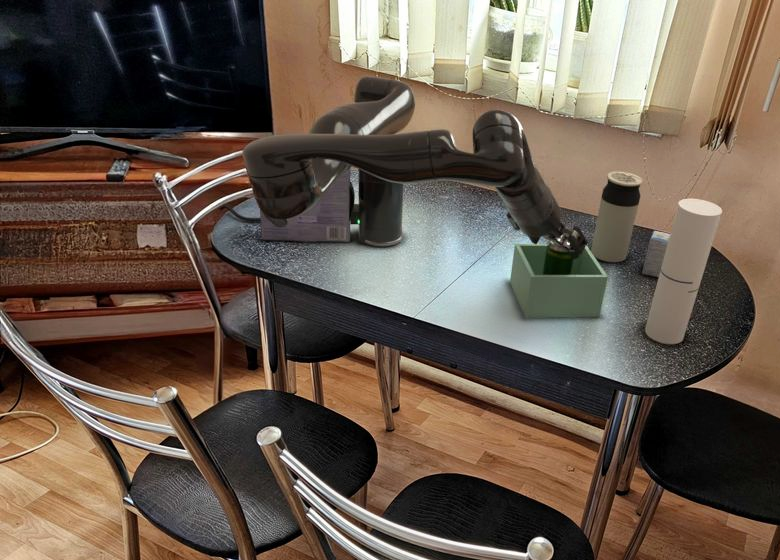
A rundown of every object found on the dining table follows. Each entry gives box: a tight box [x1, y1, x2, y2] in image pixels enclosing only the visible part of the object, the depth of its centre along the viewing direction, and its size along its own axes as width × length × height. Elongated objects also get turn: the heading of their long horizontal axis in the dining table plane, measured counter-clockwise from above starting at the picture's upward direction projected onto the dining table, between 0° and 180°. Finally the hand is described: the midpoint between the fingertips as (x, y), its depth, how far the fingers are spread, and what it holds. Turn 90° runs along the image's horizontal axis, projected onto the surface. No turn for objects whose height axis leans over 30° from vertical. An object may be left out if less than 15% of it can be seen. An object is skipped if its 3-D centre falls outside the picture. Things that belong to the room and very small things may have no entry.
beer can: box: [542, 236, 574, 275], centre depth 130 cm, size 5×5×12 cm
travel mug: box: [590, 171, 644, 263], centre depth 147 cm, size 8×8×18 cm
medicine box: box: [641, 230, 670, 278], centre depth 145 cm, size 8×4×9 cm, turn 71°
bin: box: [509, 243, 609, 319], centre depth 131 cm, size 15×14×9 cm
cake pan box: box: [259, 167, 356, 243], centre depth 141 cm, size 19×5×18 cm, turn 100°
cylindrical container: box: [644, 198, 723, 345], centre depth 120 cm, size 7×7×25 cm
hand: (557, 247), depth 125 cm, fingers open, 8 cm apart
